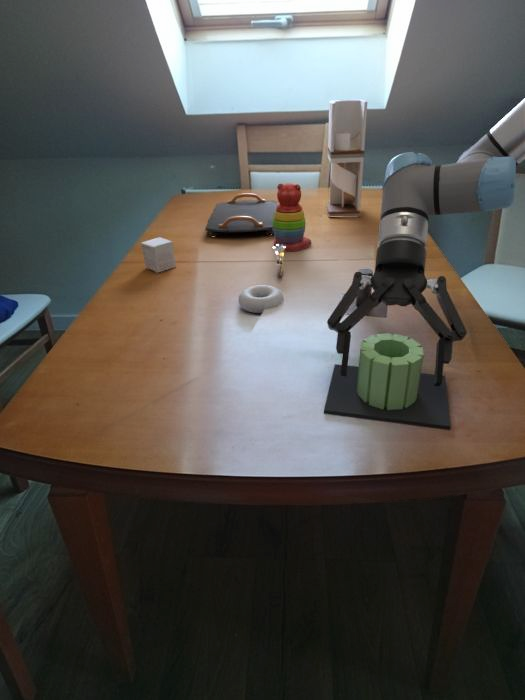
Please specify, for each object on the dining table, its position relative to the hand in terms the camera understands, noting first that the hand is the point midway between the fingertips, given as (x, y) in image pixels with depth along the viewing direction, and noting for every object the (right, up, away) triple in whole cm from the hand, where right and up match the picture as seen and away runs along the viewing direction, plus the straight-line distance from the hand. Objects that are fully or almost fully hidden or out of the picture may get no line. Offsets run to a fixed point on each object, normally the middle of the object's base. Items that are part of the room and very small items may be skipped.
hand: (389, 379), depth 69 cm
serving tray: (-25, +48, +91) cm, 106 cm away
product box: (-46, +26, +57) cm, 78 cm away
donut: (-19, +14, +34) cm, 42 cm away
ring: (-15, +23, +49) cm, 56 cm away
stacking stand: (+2, +13, +30) cm, 32 cm away
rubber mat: (+1, -3, +4) cm, 5 cm away
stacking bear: (-11, +35, +67) cm, 77 cm away
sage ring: (+1, -2, +4) cm, 5 cm away
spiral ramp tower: (+9, +53, +96) cm, 110 cm away
